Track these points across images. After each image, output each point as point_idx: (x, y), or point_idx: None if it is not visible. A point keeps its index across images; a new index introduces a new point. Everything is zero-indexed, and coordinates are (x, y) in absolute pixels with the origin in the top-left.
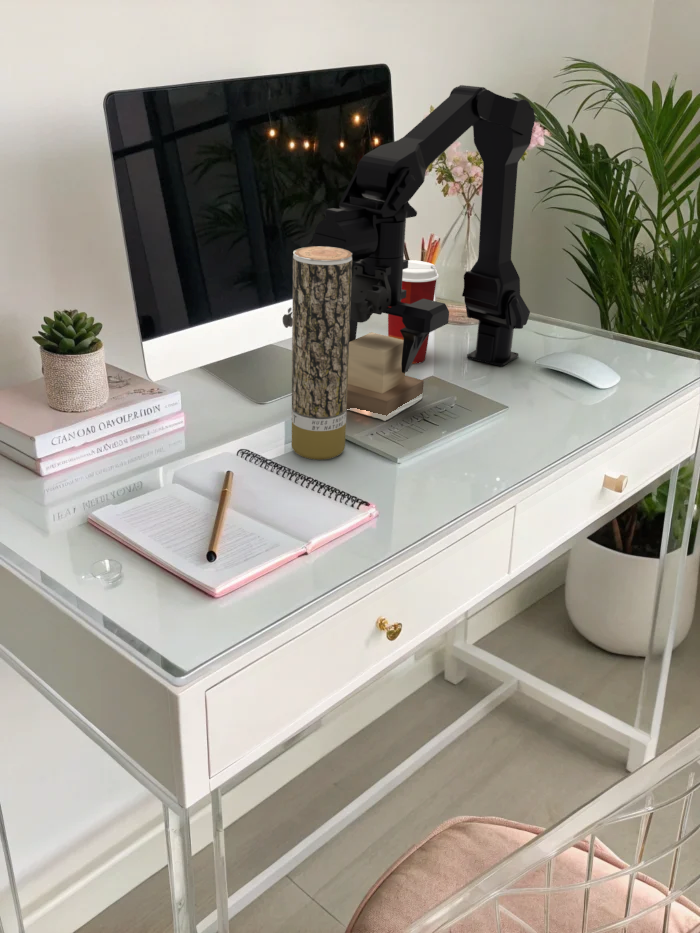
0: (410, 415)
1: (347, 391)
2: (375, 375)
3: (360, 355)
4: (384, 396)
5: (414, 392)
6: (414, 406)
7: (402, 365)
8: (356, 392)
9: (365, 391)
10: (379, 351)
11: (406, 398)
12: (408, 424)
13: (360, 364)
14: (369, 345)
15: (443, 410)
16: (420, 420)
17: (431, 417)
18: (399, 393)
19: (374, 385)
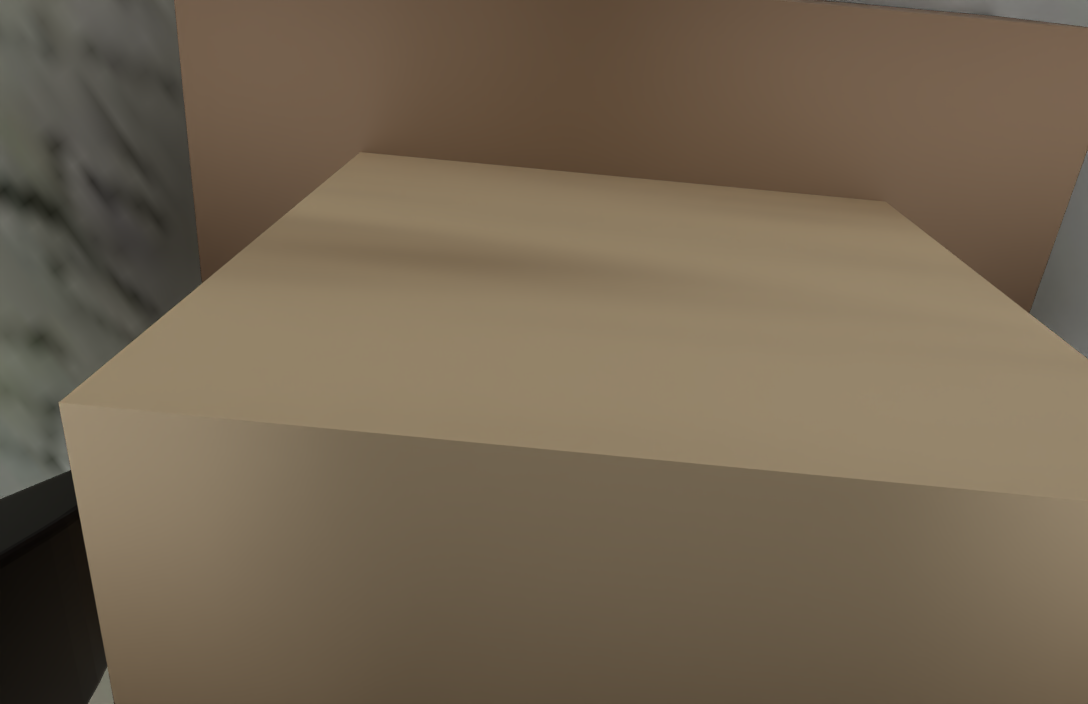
0: (190, 228)
1: (780, 1)
2: (437, 221)
3: (784, 357)
4: (287, 81)
5: None
6: None
7: (68, 503)
8: None
9: (562, 97)
10: (236, 412)
11: None
12: (76, 28)
13: (737, 281)
14: (661, 620)
15: (62, 453)
16: (60, 177)
17: (37, 285)
18: (213, 266)
19: (467, 182)
